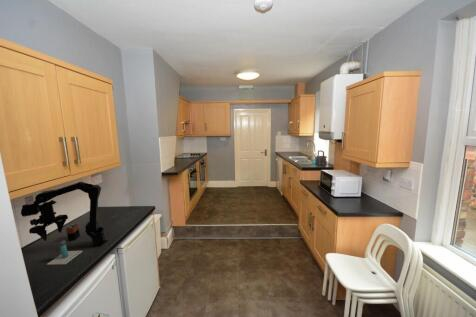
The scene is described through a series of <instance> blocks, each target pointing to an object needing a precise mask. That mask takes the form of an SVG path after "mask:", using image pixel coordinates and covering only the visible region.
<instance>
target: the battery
mask: <svg viewBox="0 0 476 317" xmlns="http://www.w3.org/2000/svg"><path fill="white" fill-rule="evenodd" d="M65 231H66V235H67V240H68V242H73V241H76V240H77V239H79V237H80V236H81V233H80V228H79V224H78V223H77V224H75V223H72V224H71V225H69V227H67V228H66V229H65Z"/></svg>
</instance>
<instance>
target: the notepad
mask: <svg viewBox="0 0 476 317" xmlns="http://www.w3.org/2000/svg"><path fill="white" fill-rule="evenodd" d="M67 251H68V257H67V258H64V259H62V256H61V254H59V255H58V256H57V257H55V258H54V259H52V260H51V261H49V262H48V263H46V266H60V265H67V264H68V263H69V262H71V261H72V260H73V259H75V257H77V256H79V255H80V254H81V253H83V250H67Z"/></svg>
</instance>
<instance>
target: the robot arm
mask: <svg viewBox="0 0 476 317" xmlns="http://www.w3.org/2000/svg"><path fill="white" fill-rule="evenodd" d="M77 190H79V191H81V192H83V193H86V194H87V196H88V198H89V220H88V222H87V223H86V225H85V230H84V232H85V233H86V235H87V236H88V237H90V239H91V241H92V245H90V246H91V248H92V247H94V248H95V247H101V246H103V245H104V244H105V243H106V242H108V239H106V238H105V233H104V230H105V228H104V227H101V226H100V222H99V221H98V215H99V214H98V209H99V197H100V195H101V192H102V191H101V190H102V187H101V186H100V185H99V184H92V183H88V182H87V183H86V182H83V181H78V182H75V183H73V184H69V185H67V186H64V187H60V188H57V189H50V190H43V191H42V192H40V193H38V194H36V195H35V198H34V202H32V203H29V204H27V203H26V204H23V205H21V208H20V209H21V210H20V215H21V217H22V218H23V217H24V218H25V217H31V216H35V215H38V214H39V213H40V215H38V217H39V218H33V219H31V220H29V223H30V226H32V227H30V228H29V230H28V231H29V234H35V235H38V236H39V237H40V238H41V239H42V240H43V241H47V240H48V239H47V238H48V234H47V233H48V232H47V229H46V228H47V227H49V226H51V225H52V224H55V225H56V227H57V231H58V233H62V230H63V229H64V228H63V227H64V225H65V224H66V221H67V220H68V219H69V216H68V214H58V215H56V214H57V211H54V206H53V205H55V204H57V201H56V200H54V198H56V197H59V196H61V195H65V194H67V193H71V192H74V191H77Z"/></svg>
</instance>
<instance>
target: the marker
mask: <svg viewBox="0 0 476 317" xmlns="http://www.w3.org/2000/svg"><path fill="white" fill-rule="evenodd" d="M57 244H58V247H59V250H60V255H61V256H62V259H64V258H67V257H68V251H69V250H68V247H67V242H66V240H65V239H63V240H60V241H58V243H57Z"/></svg>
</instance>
